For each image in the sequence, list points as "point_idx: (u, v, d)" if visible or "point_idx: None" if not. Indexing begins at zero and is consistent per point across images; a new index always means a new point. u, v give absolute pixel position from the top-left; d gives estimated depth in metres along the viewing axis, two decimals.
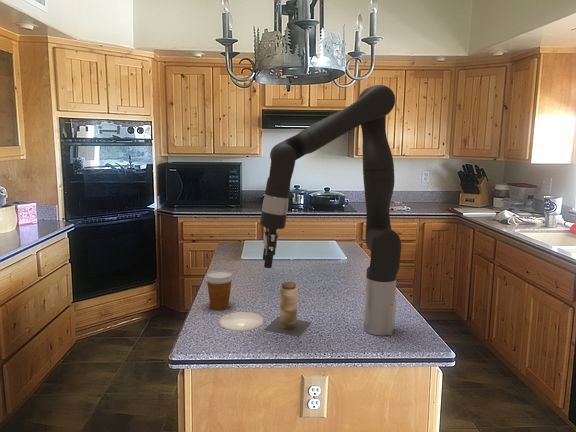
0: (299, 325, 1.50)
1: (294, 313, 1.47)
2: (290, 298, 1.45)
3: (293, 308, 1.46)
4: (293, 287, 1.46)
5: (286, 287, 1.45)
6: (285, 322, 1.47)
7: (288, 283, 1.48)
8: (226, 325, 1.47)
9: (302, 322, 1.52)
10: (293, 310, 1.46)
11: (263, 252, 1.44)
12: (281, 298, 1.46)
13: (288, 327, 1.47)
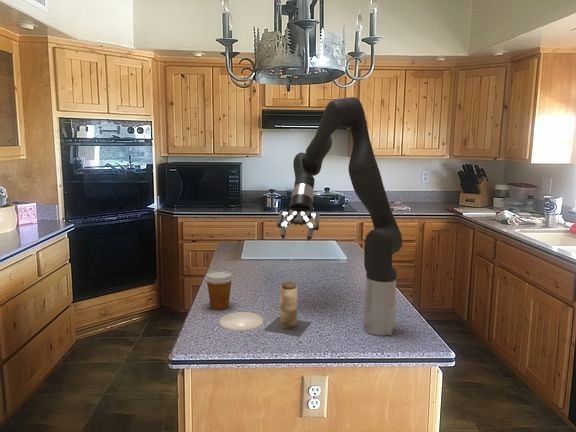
0: (299, 325, 1.50)
1: (294, 313, 1.47)
2: (290, 298, 1.45)
3: (293, 308, 1.46)
4: (293, 287, 1.46)
5: (286, 287, 1.45)
6: (285, 322, 1.47)
7: (288, 283, 1.48)
8: (226, 325, 1.47)
9: (302, 322, 1.52)
10: (293, 310, 1.46)
11: None
12: (281, 298, 1.46)
13: (288, 327, 1.47)
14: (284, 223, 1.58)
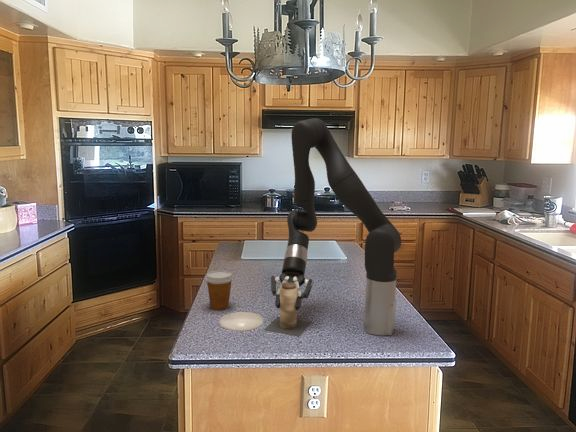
0: (299, 325, 1.50)
1: (294, 313, 1.47)
2: (290, 298, 1.45)
3: (293, 308, 1.46)
4: (293, 287, 1.46)
5: (286, 287, 1.45)
6: (285, 322, 1.47)
7: (288, 283, 1.48)
8: (226, 325, 1.47)
9: (302, 322, 1.52)
10: (293, 310, 1.46)
11: None
12: (281, 298, 1.46)
13: (288, 327, 1.47)
14: (279, 291, 1.49)
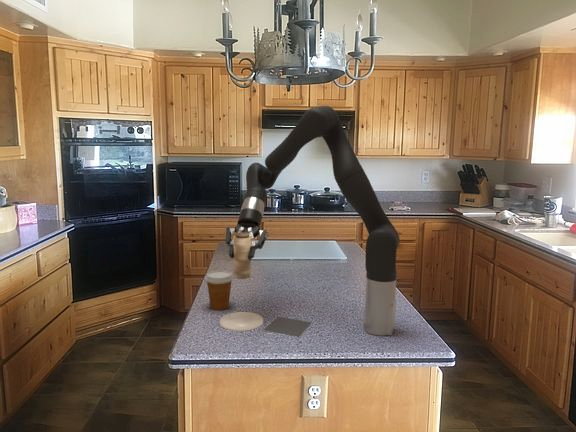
0: (299, 325, 1.50)
1: (247, 263, 1.47)
2: (243, 246, 1.45)
3: (246, 257, 1.46)
4: (246, 236, 1.46)
5: (239, 236, 1.45)
6: (238, 271, 1.47)
7: (242, 232, 1.48)
8: (226, 325, 1.47)
9: (302, 322, 1.52)
10: (247, 259, 1.47)
11: None
12: (234, 247, 1.47)
13: (241, 276, 1.47)
14: (233, 241, 1.49)
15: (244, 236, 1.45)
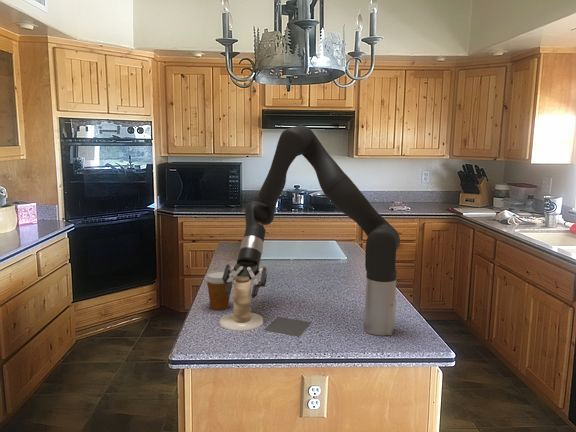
0: (299, 325, 1.50)
1: (247, 306, 1.50)
2: (243, 291, 1.48)
3: (246, 301, 1.49)
4: (246, 281, 1.49)
5: (239, 280, 1.48)
6: (238, 315, 1.49)
7: (242, 276, 1.51)
8: (226, 325, 1.47)
9: (302, 322, 1.52)
10: (246, 303, 1.49)
11: None
12: (234, 291, 1.49)
13: (241, 320, 1.49)
14: (230, 279, 1.52)
15: (244, 280, 1.48)
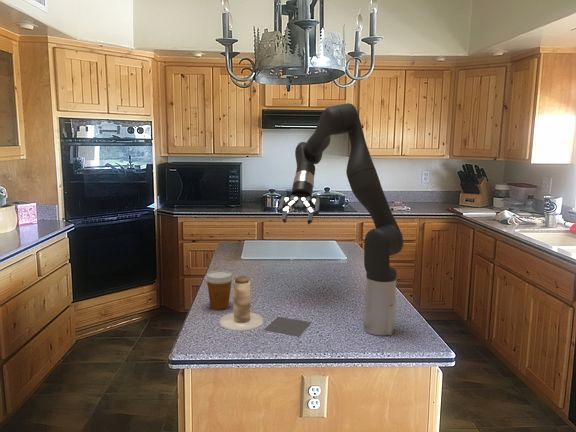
0: (299, 325, 1.50)
1: (247, 307, 1.49)
2: (243, 292, 1.48)
3: (246, 302, 1.49)
4: (246, 281, 1.48)
5: (238, 281, 1.48)
6: (238, 315, 1.49)
7: (241, 277, 1.51)
8: (226, 325, 1.47)
9: (302, 322, 1.52)
10: (246, 304, 1.49)
11: None
12: (234, 292, 1.49)
13: (241, 320, 1.49)
14: (286, 208, 1.66)
15: (243, 281, 1.48)
